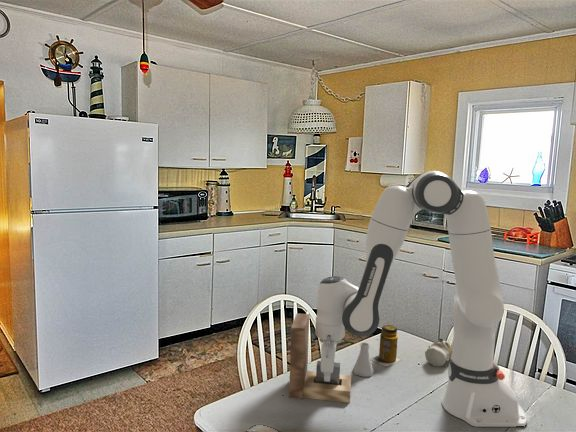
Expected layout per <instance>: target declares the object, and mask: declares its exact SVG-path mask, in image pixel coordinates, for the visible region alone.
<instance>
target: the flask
mask: <svg viewBox="0 0 576 432" xmlns="http://www.w3.org/2000/svg"><path fill="white" fill-rule="evenodd" d="M370 345H371V344H370V343H369V342H366V341H365V342H364V341H363V342H360V343H359V346H360V351H359V354H358V357H357V359H356V362H355V363H354V365H353V367H352V373H353V374H354V375H356V376H359V377H362V378H363V377H365V378H366V377H372V376H373V375H374V374H375V371H374V367H373V365H372V360H371V358H370V357H371V356H370V352H369V349H370Z"/></svg>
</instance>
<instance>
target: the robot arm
mask: <svg viewBox="0 0 576 432" xmlns="http://www.w3.org/2000/svg"><path fill="white" fill-rule="evenodd" d="M484 199H485V198H484V197H483V195H482V194H480V193H479V192H478V191H474V190H467V189H465V190H461V188H460V187H459V185H458V184H457V183H456V182H455V181H454V179H453V178H451V176H449V175H448V174H446V173H444V172H442V171H438V170H429V171H424V172H422V173H420V174H418V175H417V176H416V177H415V178H414V179H412V181H410V182H409V183H408V184H407V185H406V186H402V185H390V186H387V187H386V188H385V189H384V190H383V191H382V193H381V194H380V196H379V199H378V200H377V202H376V204H375V206H374V208H373V212H372V214H371V216H370V220H369V223H368V227H367V231H366V238H365V239H366V240H365V245H366V246H365V248H366V249H365V250H366V256H365V257H366V259H365V265H364V266H365V267H364V271H363V272H362V276H361V279H360V283H359V285H358V286H356V285H355V284H353V283H351V282H349V281H348V280H347V279H346V278H344V277H343V276H338V275H337V276H336V275H334V276H333V275H331V276H327V277H326V278H325V277H324V278H323V279H322V280H321V281H320V282H319V283H318V286H317V291H316V311H317V312H316V316H315V332H314V333H315V336H316V338H318V339H319V341H320V343H322V344H321V352H320V361H321V366H320V369H321V372H323V373H324V381H327V382H329V381H330V375H331V373H333V369H334V362H335V360H336V359H335V358H336V350H337V345H338V344H340V342H341V340H342V339H344V338H345V333H346V332H345V331H347V332H348V333H349V334H351V335H353V336H355V337H368V336H370V335H372V334H373V333H375V332H376V330H377V329H378V327H379V325H380V315H379V303H380V299H381V296H382V293H383V291H384V287H385V284H386V281H387V278H388V274H389V271H390V270H391V267H392V265H393V263H394V261H395V260H396V258H397V255H398V253H399V251H400V250H401V248H402V246H403V244H404V241H405V240H406V237H407V235H408V232H409V230H410V227H411V223H412V220H413V219H414V217H415V216H416V214H417V213H418V212H420V211H422V210H425V211H427V212H429V213H435V214H440V215H441V214H443V215H444V216H445V218H446V219H445V220H446V223H447V231H448V241H449V248H450V256H451V262H452V263H451V264H452V267H453V272H454V277H455V278H454V279H455V283H454V289H453V290H454V291H453V333H452V334H453V336H452V345H451V346H452V347H451V349H452V356H451V358H450V359H449V363H448V369H447V370H448V373H447V375H448V381H447V386H446V389H445V393H444V395H443V398H442V400H441V404H442V408H444V410H445V411H446V412H448V413H449V414H450V415H453V416H454V417H456V418H458V419H460V420H463V421H464V422H465V423H468V424H469V425H470V426H473V427H477V428H479V427H480V428H481V427H482V428H483V427H485V428H486V427H487V428H488V427H489V428H490V427H491V428H492V427H494V428H495V427H497V428H498V427H503V428H504V427H505V428H506V427H508V428H509V427H510V428H513V427H516V426H524V427H526V426H525V425H527V424H528V423H527V422H528V420H527V419H528V417H527V414H526V412H525V411H524V409H523V408H522V407H521V405H520V404H519V401H518V397H517V396H516V395H517V394H516V393H515V392H514V390H513V389H512V388H511V387H510V385H508V384H507V383H506V382H504V381H503V380H505V379H506V376H505V373H504V372H503V371H502V370H500V368H499V367H498V366H497V365H496V364H495V363H494V355H495V344H496V343H495V342H496V336H495V325H497V324H498V323H499V322H500V321H501V320H502V319H503V316H504V314H505V313H504V312H505V307H504V306H505V304H504V298H503V293H502V288H501V283H500V278H499V277H500V276H499V272H498V268H497V267H498V266H497V264H496V259H495V253H494V245H493V237H492V228H491V221H490V216H489V211H488V209H487V205H486V202H485V200H484ZM526 423H527V424H526Z"/></svg>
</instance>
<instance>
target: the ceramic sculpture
mask: <svg viewBox="0 0 576 432" xmlns="http://www.w3.org/2000/svg"><path fill="white" fill-rule="evenodd" d="M451 346H452V345H450V343H449V341H447V340H444V339H443V338H438V339H437V340H435V341H434V342H433V343H432V344H431V345H428V348H427V350H425V352H424V353H425V354H424V356H425V359H426V362H428V364H430V365H432V366H433V367H442V366H444V364H446V362H447V361H448V360H450V358H451V356H452V347H451Z"/></svg>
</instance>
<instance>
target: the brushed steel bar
mask: <svg viewBox="0 0 576 432" xmlns="http://www.w3.org/2000/svg"><path fill="white" fill-rule="evenodd" d="M320 366H321V360H317V362H316V371H315V372H316V383H322V384H332V385H339V379H340V374H341V363H340V362H335V361H334V369H333V373H331V375H330V381H329V382H327V381H324V373H323V372H321V369H320Z"/></svg>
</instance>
